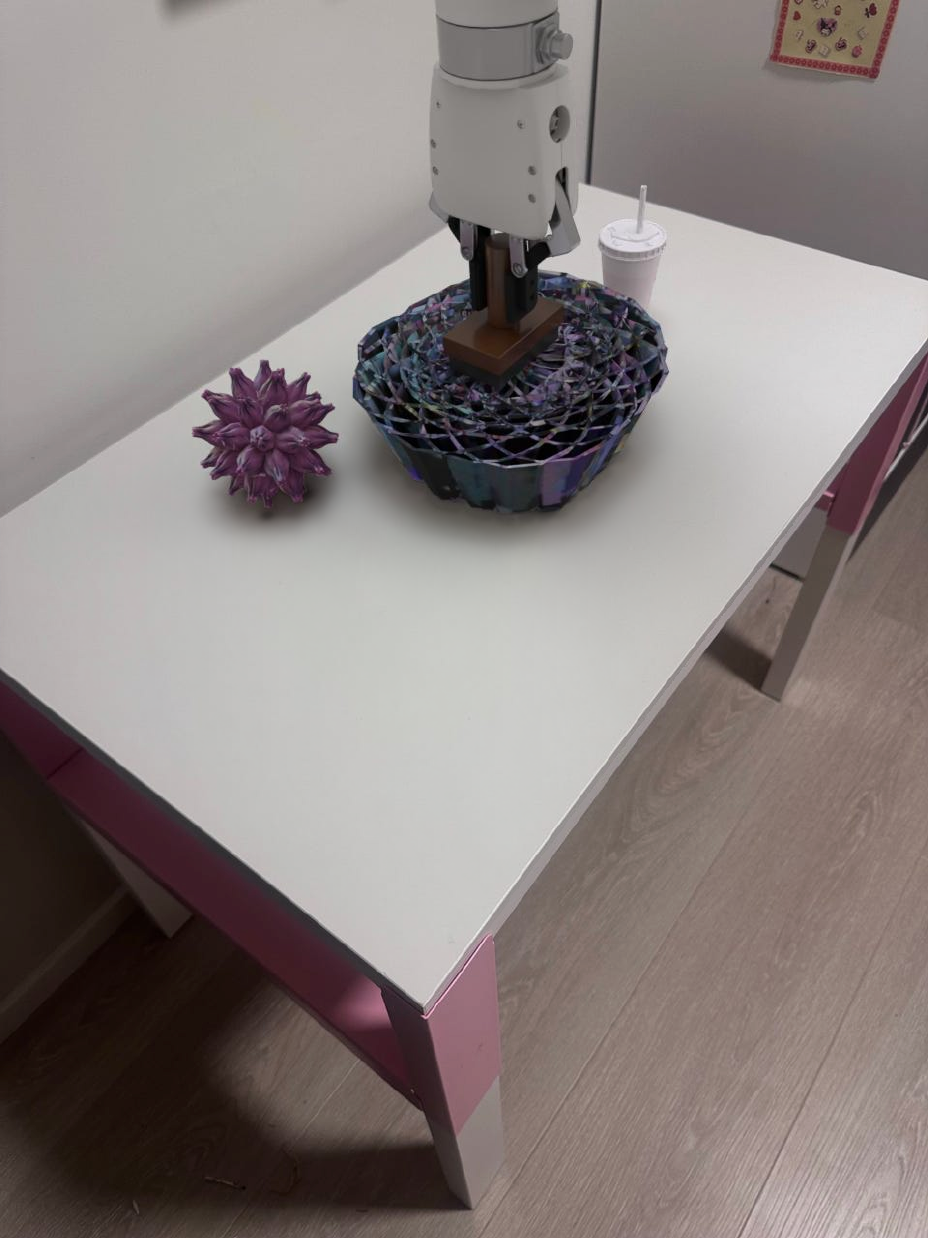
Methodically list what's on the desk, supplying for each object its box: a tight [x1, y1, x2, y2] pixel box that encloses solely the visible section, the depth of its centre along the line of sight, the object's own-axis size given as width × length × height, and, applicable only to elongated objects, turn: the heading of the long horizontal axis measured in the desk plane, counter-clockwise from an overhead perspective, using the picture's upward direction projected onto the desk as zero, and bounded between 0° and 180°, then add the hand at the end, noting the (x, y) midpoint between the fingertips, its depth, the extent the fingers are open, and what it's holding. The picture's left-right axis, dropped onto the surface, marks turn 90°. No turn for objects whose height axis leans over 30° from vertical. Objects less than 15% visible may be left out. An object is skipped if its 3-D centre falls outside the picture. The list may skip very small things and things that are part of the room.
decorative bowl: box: [352, 268, 670, 516], centre depth 76 cm, size 26×28×10 cm
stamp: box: [442, 232, 564, 389], centre depth 69 cm, size 9×6×10 cm, turn 142°
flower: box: [191, 359, 340, 508], centre depth 72 cm, size 12×12×12 cm
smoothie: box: [597, 184, 668, 313], centre depth 83 cm, size 6×6×14 cm
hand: (503, 307), depth 69 cm, fingers closed on stamp, 2 cm apart
